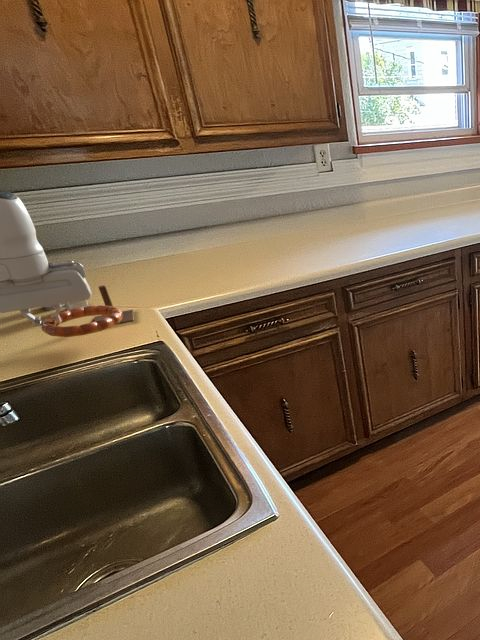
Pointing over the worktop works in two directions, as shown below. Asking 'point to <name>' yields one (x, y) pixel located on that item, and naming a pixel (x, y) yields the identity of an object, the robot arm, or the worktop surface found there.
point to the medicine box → (76, 304)
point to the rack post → (127, 315)
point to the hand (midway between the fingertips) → (47, 324)
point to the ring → (84, 329)
